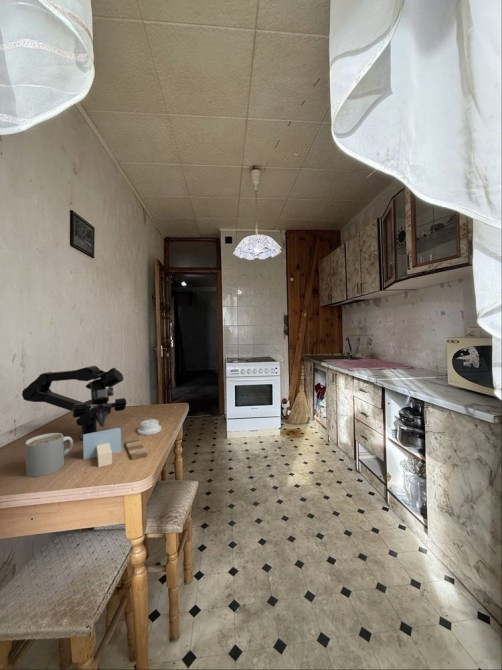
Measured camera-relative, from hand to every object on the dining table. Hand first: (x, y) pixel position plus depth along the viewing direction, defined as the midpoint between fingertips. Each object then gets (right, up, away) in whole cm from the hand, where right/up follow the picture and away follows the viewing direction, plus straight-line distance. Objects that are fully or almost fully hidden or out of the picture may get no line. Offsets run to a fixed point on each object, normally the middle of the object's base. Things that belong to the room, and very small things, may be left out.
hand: (102, 426), depth 105 cm
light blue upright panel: (+6, -8, -10) cm, 14 cm away
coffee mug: (-9, -9, -15) cm, 19 cm away
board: (+14, -8, -3) cm, 17 cm away
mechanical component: (+12, -8, +16) cm, 22 cm away
